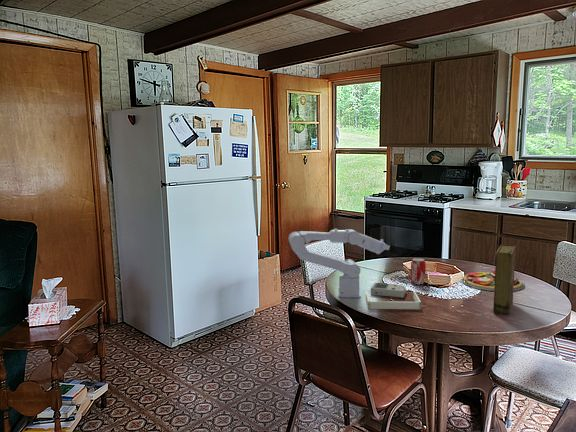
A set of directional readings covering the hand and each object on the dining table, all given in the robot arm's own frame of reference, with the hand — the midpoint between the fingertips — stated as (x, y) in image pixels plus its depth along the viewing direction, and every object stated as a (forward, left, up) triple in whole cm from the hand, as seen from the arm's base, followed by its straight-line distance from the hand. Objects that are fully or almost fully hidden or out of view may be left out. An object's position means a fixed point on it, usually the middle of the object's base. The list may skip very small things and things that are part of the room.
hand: (396, 254), depth 200 cm
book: (+40, -19, -18) cm, 48 cm away
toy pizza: (+47, +15, -19) cm, 53 cm away
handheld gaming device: (-4, -1, -18) cm, 19 cm away
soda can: (+12, +14, -18) cm, 26 cm away
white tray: (-4, -15, -18) cm, 23 cm away
